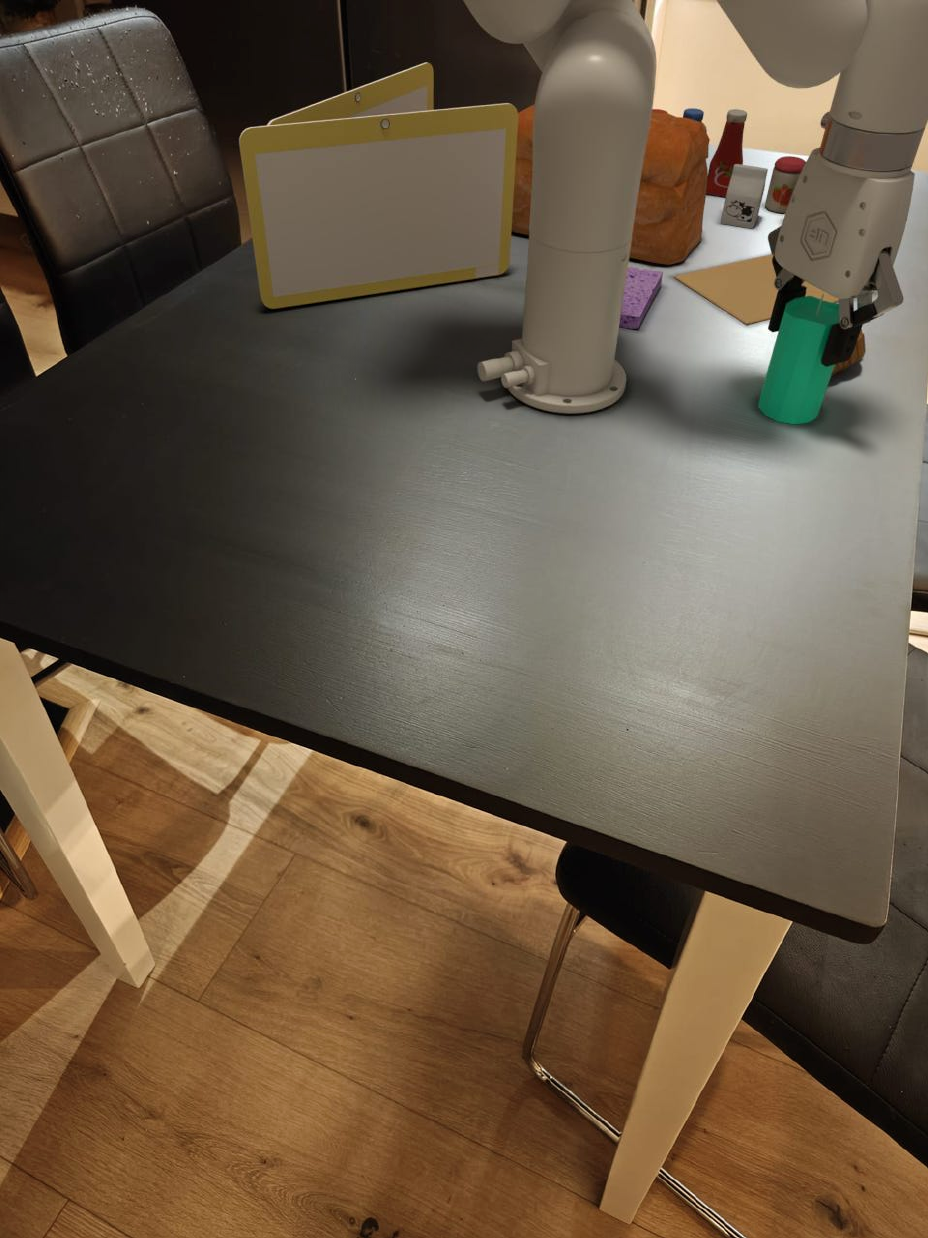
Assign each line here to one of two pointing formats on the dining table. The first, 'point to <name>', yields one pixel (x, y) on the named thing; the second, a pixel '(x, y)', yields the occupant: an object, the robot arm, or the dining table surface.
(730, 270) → the place mat
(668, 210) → the bread
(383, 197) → the tabletop whiteboard easel
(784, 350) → the candle
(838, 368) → the croissant
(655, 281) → the sponge
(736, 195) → the toy food
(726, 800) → the dining table surface
